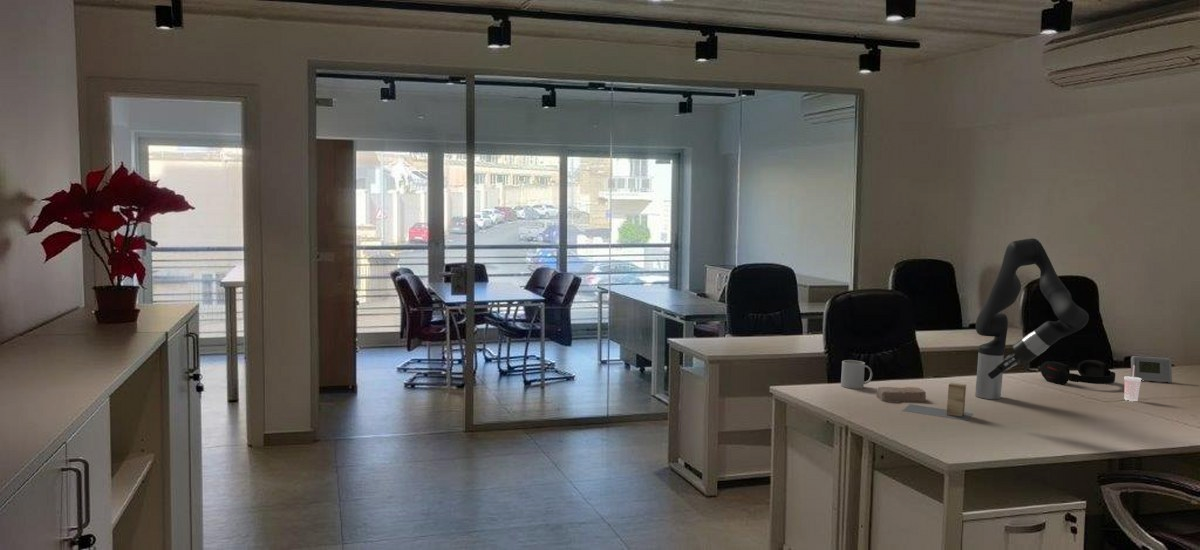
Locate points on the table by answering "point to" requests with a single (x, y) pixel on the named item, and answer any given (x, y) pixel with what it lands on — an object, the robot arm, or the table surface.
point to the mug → (854, 374)
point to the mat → (934, 412)
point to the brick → (901, 394)
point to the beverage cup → (1132, 387)
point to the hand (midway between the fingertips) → (990, 376)
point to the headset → (1087, 369)
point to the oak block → (956, 399)
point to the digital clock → (1152, 368)
